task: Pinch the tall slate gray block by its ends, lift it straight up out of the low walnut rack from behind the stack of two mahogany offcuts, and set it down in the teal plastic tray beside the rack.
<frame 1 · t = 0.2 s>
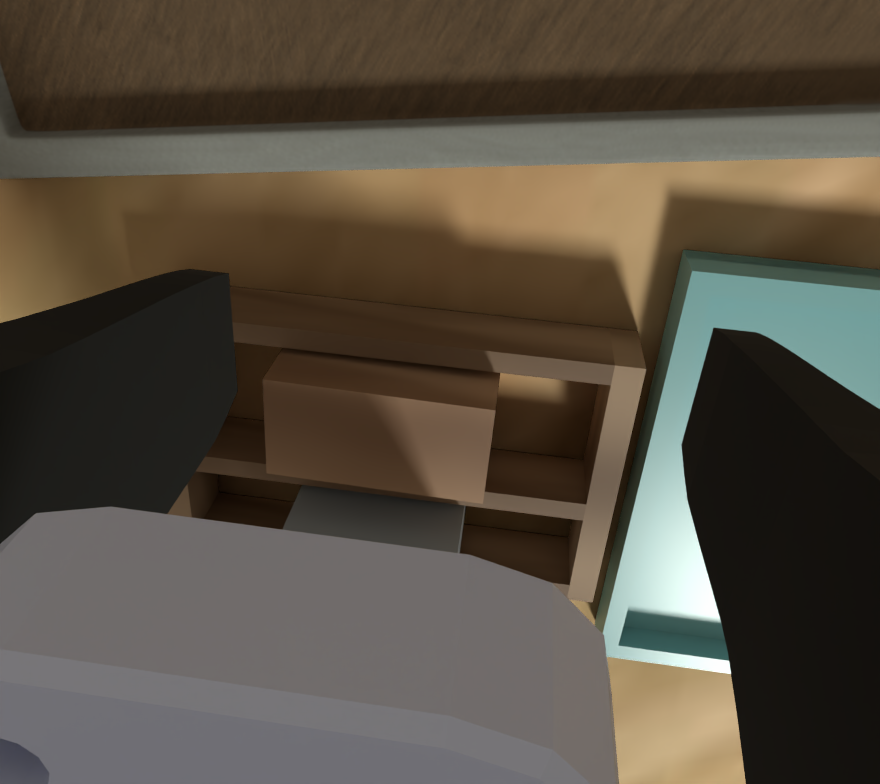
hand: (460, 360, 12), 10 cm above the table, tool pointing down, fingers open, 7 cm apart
slate gray block: (392, 483, 26), resting in rack
rack: (395, 407, 24), on the table
offcut upper: (389, 404, 22), point 2 cm above the table
tray: (847, 489, 24), on the table
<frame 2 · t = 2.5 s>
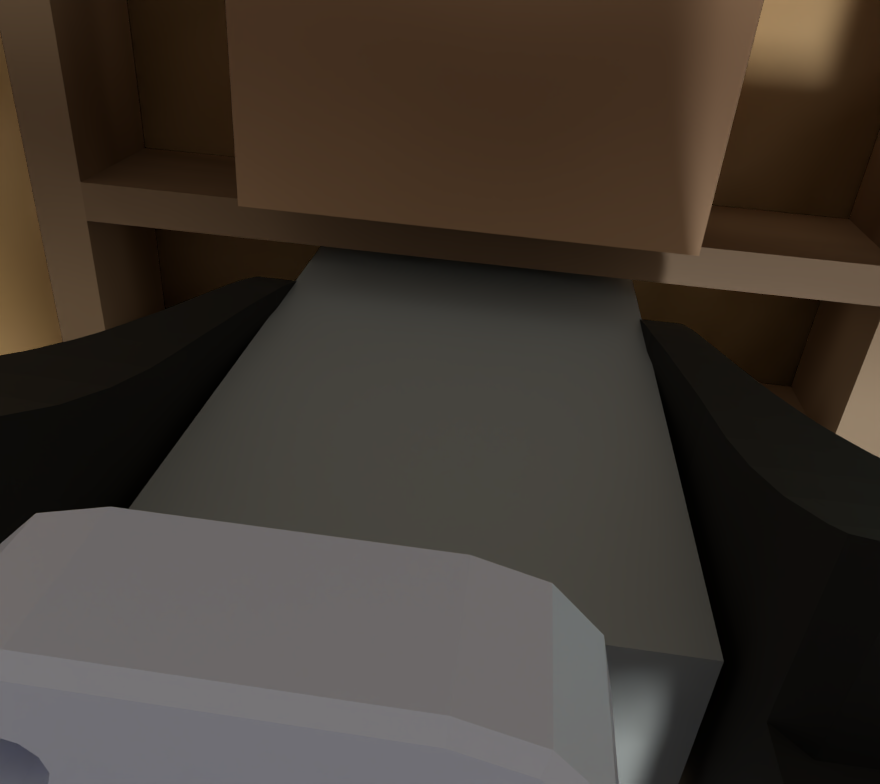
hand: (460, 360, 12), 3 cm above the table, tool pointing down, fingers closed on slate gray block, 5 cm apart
slate gray block: (476, 285, 14), resting in rack, touching gripper
rack: (492, 115, 13), on the table
offcut upper: (486, 82, 11), point 2 cm above the table
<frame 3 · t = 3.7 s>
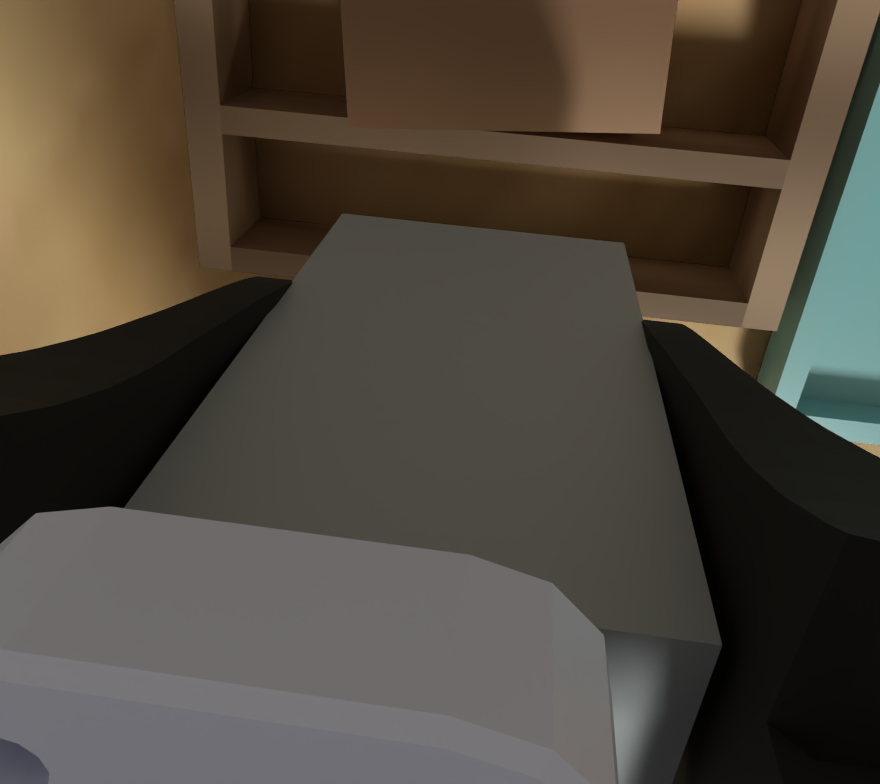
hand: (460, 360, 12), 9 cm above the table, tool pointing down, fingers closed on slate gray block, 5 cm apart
slate gray block: (476, 280, 14), point 6 cm above the table, touching gripper
rack: (508, 60, 18), on the table
offcut upper: (507, 33, 16), point 2 cm above the table, touching offcut lower
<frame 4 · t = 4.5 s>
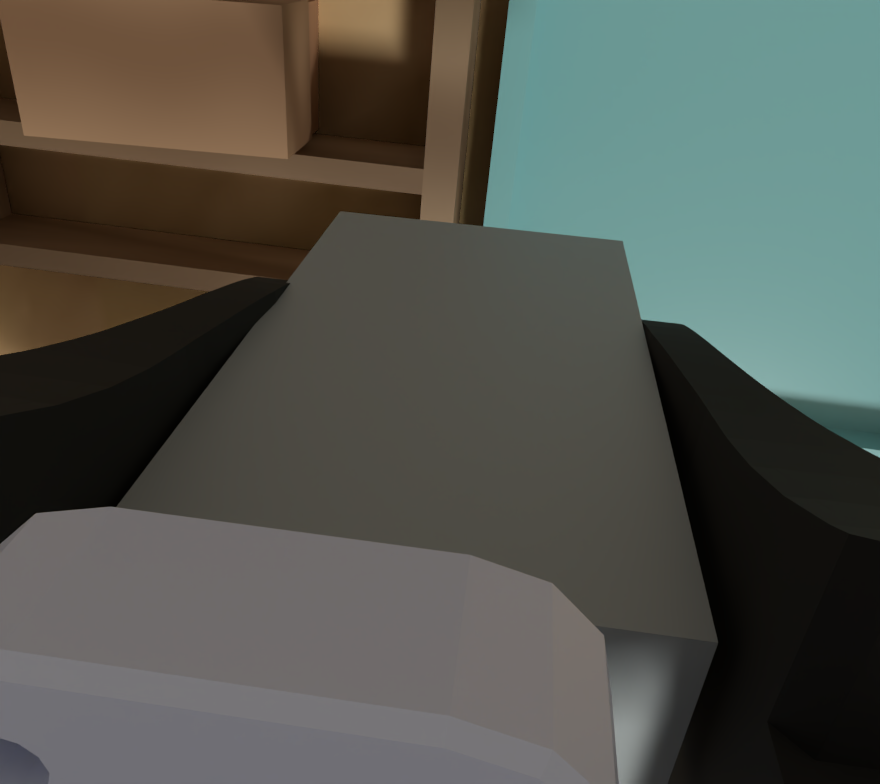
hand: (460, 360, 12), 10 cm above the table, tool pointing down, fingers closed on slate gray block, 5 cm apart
slate gray block: (474, 278, 14), point 7 cm above the table, touching gripper
rack: (204, 76, 20), on the table
offcut upper: (183, 61, 18), point 2 cm above the table, touching offcut lower
offcut lower: (206, 53, 20), resting in rack, touching offcut upper
tray: (752, 179, 19), on the table
when the fingers open (5 cm above the table, at t = 6.7 s): slate gray block drops 1 cm, resting on tray.
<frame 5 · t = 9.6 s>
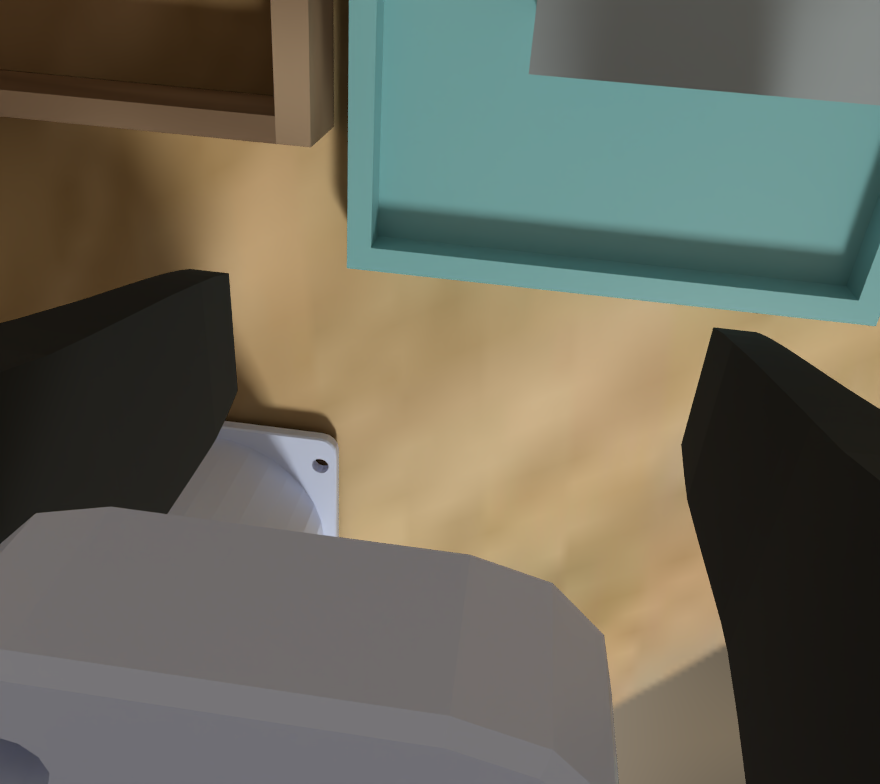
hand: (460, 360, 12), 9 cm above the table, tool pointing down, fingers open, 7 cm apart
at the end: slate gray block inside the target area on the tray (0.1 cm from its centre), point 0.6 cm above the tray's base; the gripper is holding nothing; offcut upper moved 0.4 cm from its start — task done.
